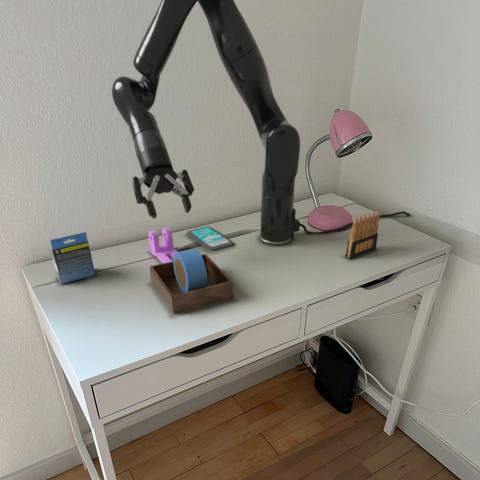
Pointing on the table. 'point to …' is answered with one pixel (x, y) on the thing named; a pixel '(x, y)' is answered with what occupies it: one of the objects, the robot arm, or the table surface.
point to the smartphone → (209, 238)
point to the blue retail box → (72, 258)
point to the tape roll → (190, 270)
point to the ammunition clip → (363, 235)
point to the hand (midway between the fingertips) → (171, 214)
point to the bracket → (165, 249)
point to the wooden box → (178, 301)
